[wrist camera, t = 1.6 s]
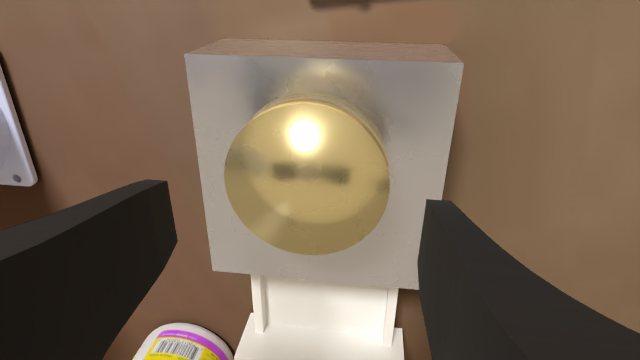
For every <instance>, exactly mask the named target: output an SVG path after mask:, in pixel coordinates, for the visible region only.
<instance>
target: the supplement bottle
mask: <svg viewBox="0 0 640 360" xmlns="http://www.w3.org/2000/svg"><path fill="white" fill-rule="evenodd" d="M132 360H234V358H233V355H232V353H231V351H230V349H229V347H228V346H227V345H226V343H225V342H224V341H223V340H222V339H220V338H219V337H218V336H217V335H215V334H214V333H212V332H211V331H209V330H207V329H205V328H203V327H200V326H197V325H194V324H189V323H171V324H166V325H163V326H161V327H159V328H157V329H155V330H154V331H153V332H151V333H150V335H149V336H148V337H147V338H146V340H145V341H144V343H143V344H142V345H141V347H140V348H139V350H138V352H137V353H136V355H135V356H134V358H133V359H132Z"/></svg>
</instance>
